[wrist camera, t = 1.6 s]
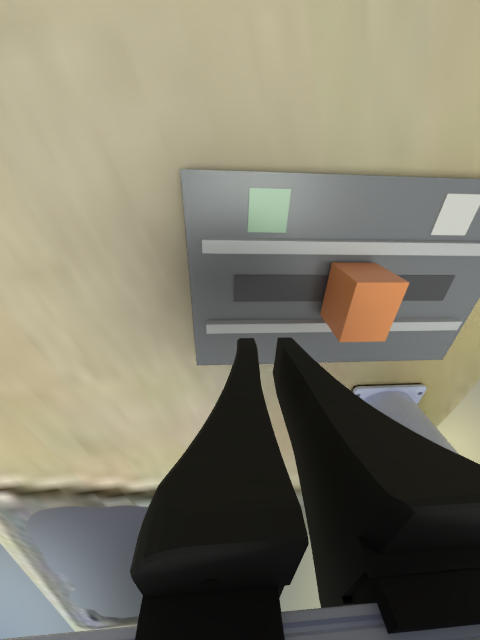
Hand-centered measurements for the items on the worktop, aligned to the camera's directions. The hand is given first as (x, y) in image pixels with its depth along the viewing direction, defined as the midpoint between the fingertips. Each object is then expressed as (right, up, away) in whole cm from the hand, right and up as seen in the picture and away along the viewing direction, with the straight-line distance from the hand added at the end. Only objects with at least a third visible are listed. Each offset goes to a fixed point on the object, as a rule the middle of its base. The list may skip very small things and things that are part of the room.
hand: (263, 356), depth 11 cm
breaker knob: (+7, +4, +7) cm, 10 cm away
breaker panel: (+6, +5, +9) cm, 12 cm away
